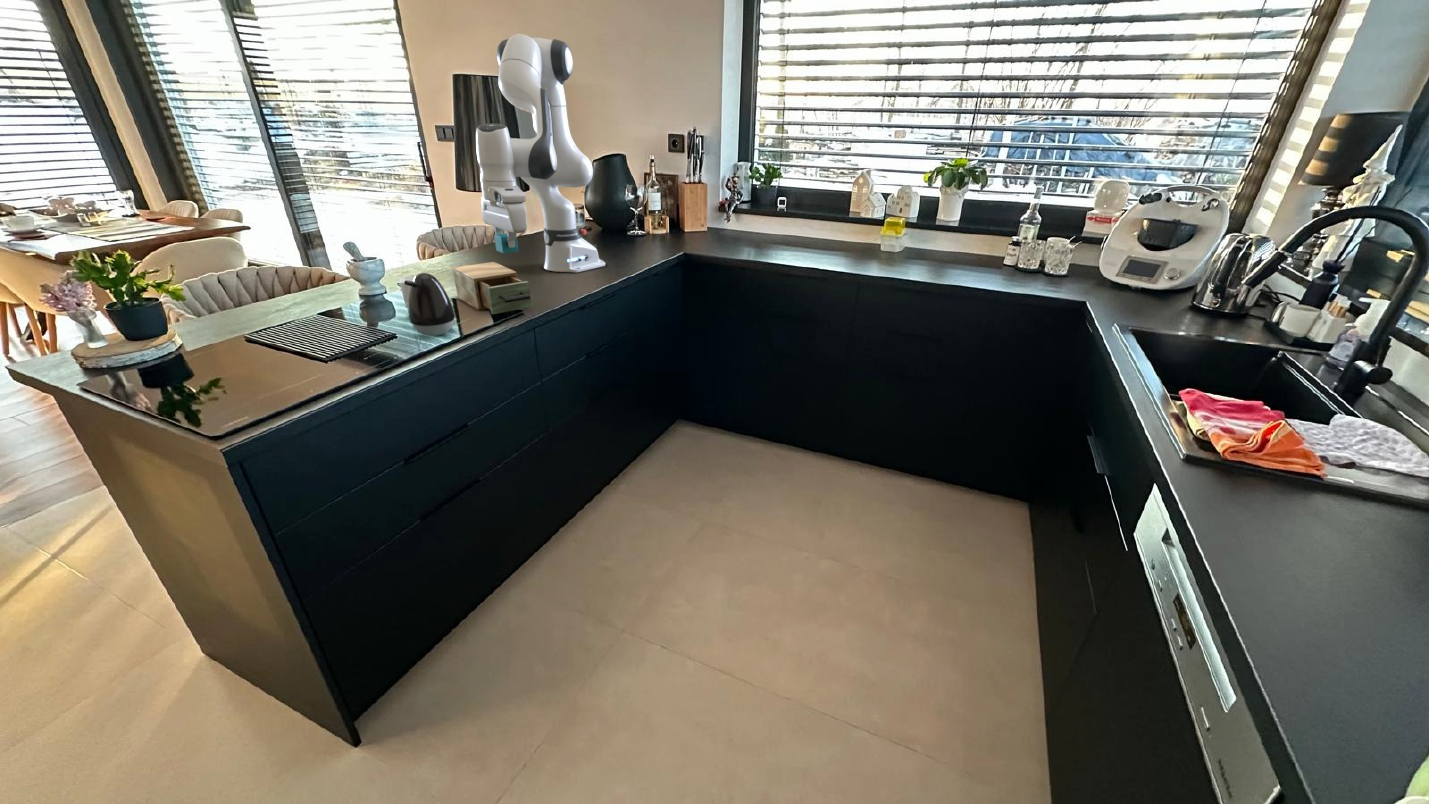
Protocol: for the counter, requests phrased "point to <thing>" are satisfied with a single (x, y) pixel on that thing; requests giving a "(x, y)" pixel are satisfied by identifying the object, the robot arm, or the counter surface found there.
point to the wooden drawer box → (473, 273)
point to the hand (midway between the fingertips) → (506, 245)
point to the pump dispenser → (429, 305)
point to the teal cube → (504, 244)
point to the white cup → (406, 290)
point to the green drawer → (504, 294)
